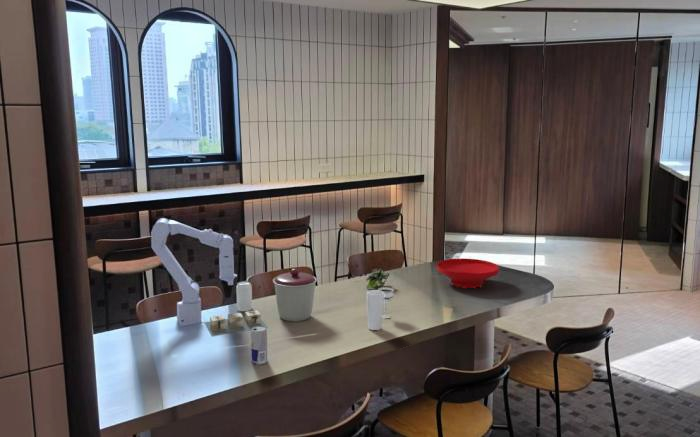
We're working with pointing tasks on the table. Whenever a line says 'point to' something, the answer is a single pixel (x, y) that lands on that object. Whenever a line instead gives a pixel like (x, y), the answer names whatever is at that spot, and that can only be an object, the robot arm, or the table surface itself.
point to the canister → (294, 295)
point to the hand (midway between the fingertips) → (227, 297)
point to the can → (244, 296)
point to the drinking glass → (374, 308)
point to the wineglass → (387, 297)
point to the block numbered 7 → (252, 317)
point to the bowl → (467, 271)
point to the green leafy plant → (377, 278)
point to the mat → (232, 330)
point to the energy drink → (259, 345)
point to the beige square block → (217, 322)
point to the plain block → (235, 320)
